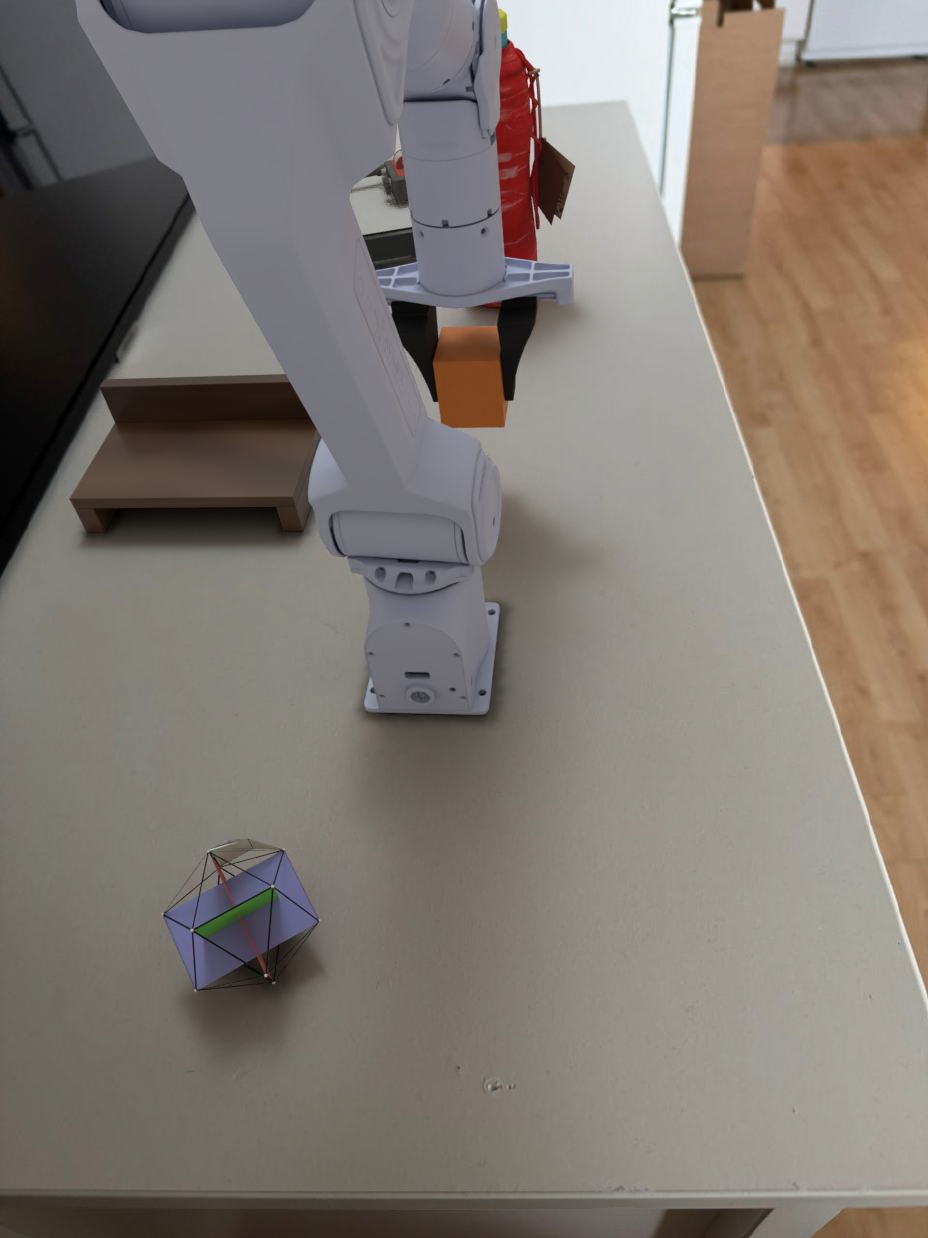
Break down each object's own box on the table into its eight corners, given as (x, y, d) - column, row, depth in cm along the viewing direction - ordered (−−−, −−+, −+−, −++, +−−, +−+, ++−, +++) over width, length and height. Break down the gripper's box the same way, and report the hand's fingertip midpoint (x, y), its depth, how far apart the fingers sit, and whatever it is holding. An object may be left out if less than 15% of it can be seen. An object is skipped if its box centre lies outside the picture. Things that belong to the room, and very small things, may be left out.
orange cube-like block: (504, 427, 68) (499, 360, 64) (441, 428, 69) (432, 361, 65) (509, 391, 72) (505, 324, 68) (449, 392, 72) (441, 326, 68)
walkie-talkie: (479, 158, 120) (324, 188, 118) (476, 120, 117) (316, 151, 115) (497, 184, 114) (333, 217, 112) (494, 146, 111) (326, 179, 109)
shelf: (303, 531, 74) (281, 458, 68) (86, 532, 76) (50, 462, 71) (331, 444, 81) (314, 372, 76) (133, 447, 84) (104, 378, 79)
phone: (321, 241, 106) (454, 219, 106) (323, 251, 106) (455, 229, 107) (324, 273, 100) (464, 250, 101) (327, 283, 101) (465, 260, 101)
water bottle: (571, 267, 98) (566, -14, 80) (579, 306, 93) (575, 13, 75) (455, 279, 99) (424, 2, 81) (456, 318, 93) (423, 30, 75)
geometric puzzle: (349, 977, 47) (282, 837, 45) (219, 1054, 45) (143, 910, 43) (320, 924, 53) (261, 800, 52) (206, 989, 51) (140, 862, 50)
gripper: (574, 175, 61) (576, 361, 71) (355, 186, 63) (387, 365, 73) (569, 224, 56) (573, 416, 66) (332, 235, 58) (370, 419, 68)
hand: (474, 393), depth 69 cm, fingers closed on orange cube-like block, 4 cm apart
